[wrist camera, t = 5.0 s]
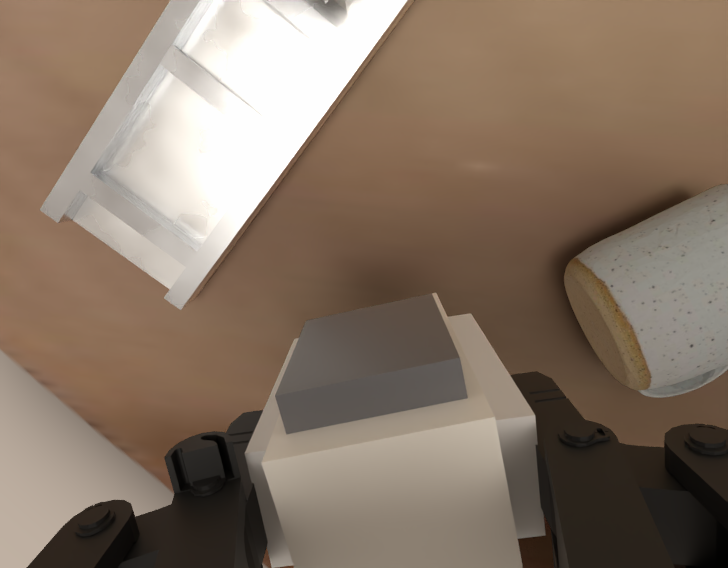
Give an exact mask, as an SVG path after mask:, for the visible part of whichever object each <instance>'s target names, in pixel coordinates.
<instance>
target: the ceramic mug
mask: <svg viewBox="0 0 728 568" xmlns="http://www.w3.org/2000/svg"><path fill="white" fill-rule="evenodd" d="M564 285H565V289H566V292H567V295H568V298H569V301H570V304H571V306H572V309H573V311H574V314H575V316H576V318H577V320H578V322H579V324H580V326H581V328H582V330H583V332H584V334H585V336H586V337H587V339H588V341H589V343H590V344H591V346H592V348H593V350H594V351H595V353H596V354H597V356H598V357H599V359H600V360H601V362H602V363H603V365H604V366H605V367H606V369H607V370H608V371H609V372H610V373H611V375H612V376H613V377H614V378H616V379H617V380H618V381H619V382H620V383H621V384H622V385H624V386H627V387H629V388H631V389H634V390H638V391H639V392H640V393H641V394H643V395H645V396H649V397H656V398H664V397H671V396H676V395H680V394H683V393H687V392H690V391H693V390H695V389H698V388H700V387H702V386H703V385H705V384H707V383H709V382H711V381H713V380H714V379H716V378H717V377H719V376H720V375H722V374H723V373H724V372H725V371H726V370H728V184H722V185H718V186H715V187H713V188H710V189H708V190H706V191H704V192H702V193H700V194H698V195H696V196H694V197H692V198H690V199H688V200H685V201H683V202H681V203H679V204H677V205H675V206H673V207H671V208H669V209H666V210H664V211H662V212H660V213H658V214H656V215H654V216H652V217H650V218H648V219H646V220H644V221H642V222H640V223H638V224H636V225H634V226H632V227H630V228H628V229H626V230H624V231H622V232H619V233H617V234H615V235H613V236H610V237H608V238H606V239H604V240H602V241H600V242H598V243H596V244H594V245H592V246H590V247H588V248H587V249H586V250H584V251H583V252H582V253H580V254H579V255H577V256H576V257H575V258H573V259H572V260H571V261H570V262H569V263H568V265H567V267H566V270H565V274H564Z"/></svg>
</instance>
